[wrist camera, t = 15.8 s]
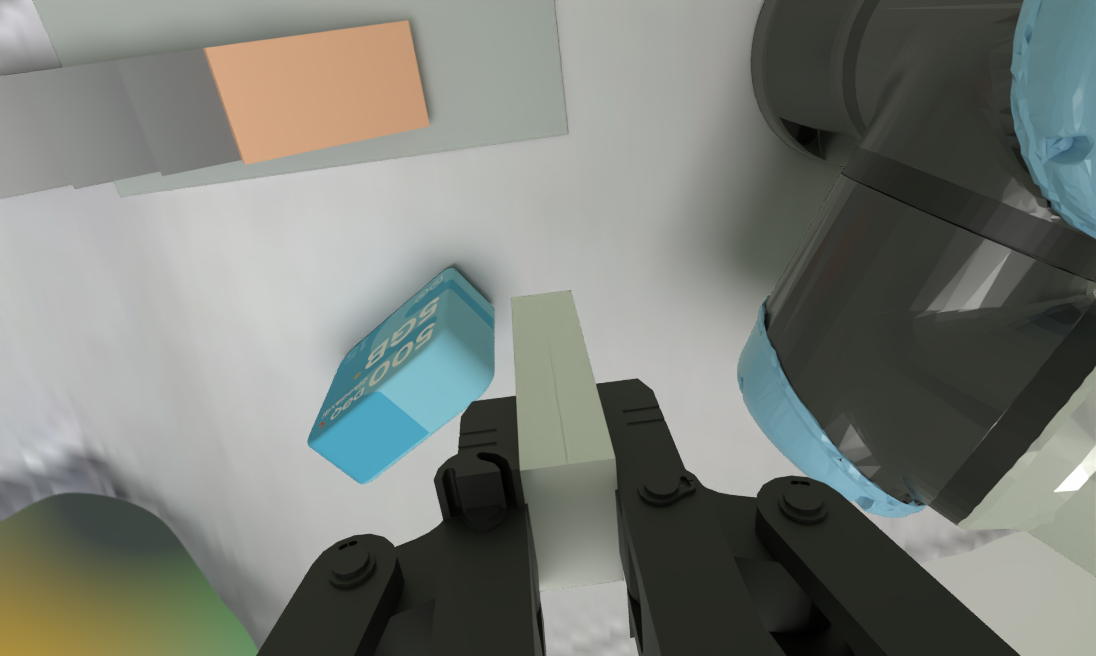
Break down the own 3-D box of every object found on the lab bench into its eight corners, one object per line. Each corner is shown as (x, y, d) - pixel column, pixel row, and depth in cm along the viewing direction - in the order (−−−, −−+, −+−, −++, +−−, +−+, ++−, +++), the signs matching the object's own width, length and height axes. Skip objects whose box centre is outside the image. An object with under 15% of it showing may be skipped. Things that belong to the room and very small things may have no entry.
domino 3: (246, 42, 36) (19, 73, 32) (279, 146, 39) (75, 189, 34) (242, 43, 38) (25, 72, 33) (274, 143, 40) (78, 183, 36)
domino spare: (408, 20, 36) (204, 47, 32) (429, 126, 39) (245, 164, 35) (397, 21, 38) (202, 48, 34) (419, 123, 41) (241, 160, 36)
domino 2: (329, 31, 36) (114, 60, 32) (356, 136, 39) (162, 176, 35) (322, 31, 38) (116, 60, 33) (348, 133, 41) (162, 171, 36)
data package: (454, 260, 46) (442, 336, 35) (495, 301, 47) (496, 386, 37) (342, 356, 48) (299, 454, 38) (385, 392, 50) (356, 495, 40)
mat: (545, -77, 36) (545, -78, 36) (567, 133, 42) (568, 134, 42) (33, -7, 36) (29, -7, 36) (123, 195, 42) (120, 197, 41)
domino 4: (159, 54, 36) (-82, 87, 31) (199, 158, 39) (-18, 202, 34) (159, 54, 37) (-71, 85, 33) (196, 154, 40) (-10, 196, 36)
